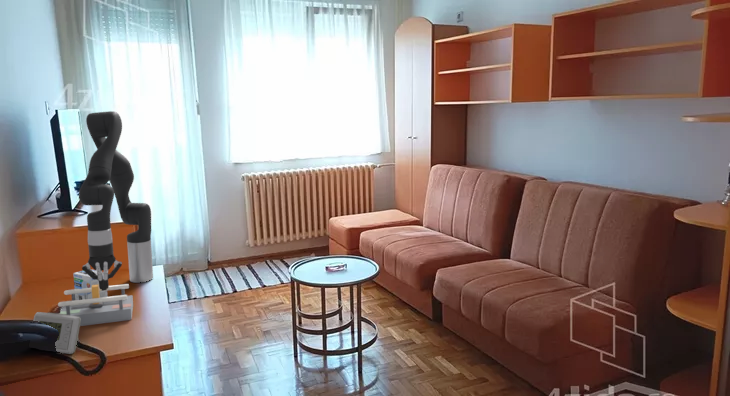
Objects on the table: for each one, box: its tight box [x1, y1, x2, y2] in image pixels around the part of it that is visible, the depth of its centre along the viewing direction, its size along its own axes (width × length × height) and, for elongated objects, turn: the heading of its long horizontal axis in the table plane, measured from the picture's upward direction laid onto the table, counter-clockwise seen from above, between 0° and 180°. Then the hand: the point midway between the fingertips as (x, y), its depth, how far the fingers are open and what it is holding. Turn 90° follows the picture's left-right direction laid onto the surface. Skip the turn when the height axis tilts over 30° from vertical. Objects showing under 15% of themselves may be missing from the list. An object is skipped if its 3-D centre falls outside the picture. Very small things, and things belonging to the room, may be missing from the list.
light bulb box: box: [72, 268, 109, 300], centre depth 197 cm, size 11×7×11 cm, turn 62°
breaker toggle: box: [89, 284, 104, 308], centre depth 181 cm, size 4×4×7 cm
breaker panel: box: [57, 283, 134, 327], centre depth 181 cm, size 14×22×9 cm, turn 111°
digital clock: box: [32, 311, 81, 355], centre depth 157 cm, size 16×9×11 cm, turn 65°
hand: (104, 289), depth 181 cm, fingers closed
